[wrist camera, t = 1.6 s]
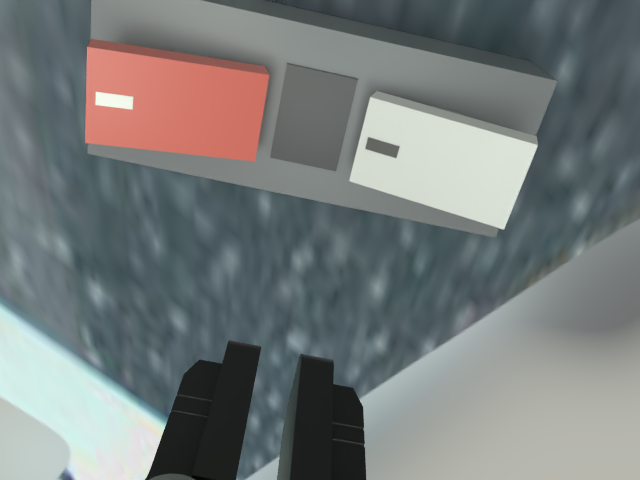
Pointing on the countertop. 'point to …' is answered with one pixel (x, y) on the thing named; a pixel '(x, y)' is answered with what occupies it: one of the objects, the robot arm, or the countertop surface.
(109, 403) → the countertop surface
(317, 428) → the robot arm
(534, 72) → the rocker switch panel
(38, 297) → the countertop surface
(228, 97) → the block
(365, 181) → the white rocker
